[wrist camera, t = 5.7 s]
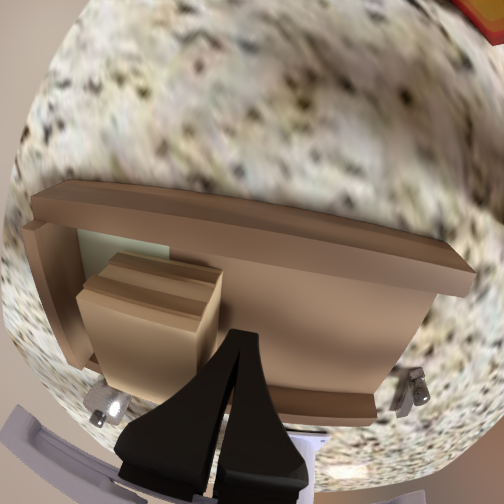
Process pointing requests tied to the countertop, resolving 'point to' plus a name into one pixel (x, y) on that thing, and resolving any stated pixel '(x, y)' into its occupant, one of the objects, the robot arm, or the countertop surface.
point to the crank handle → (413, 392)
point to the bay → (255, 283)
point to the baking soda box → (485, 17)
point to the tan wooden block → (151, 322)
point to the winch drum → (106, 403)
